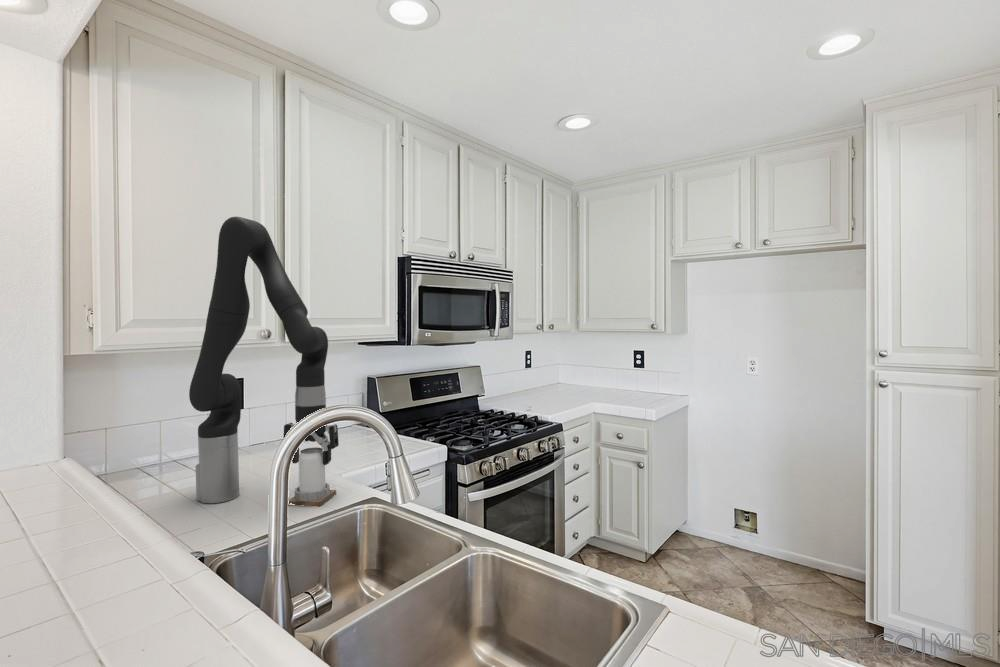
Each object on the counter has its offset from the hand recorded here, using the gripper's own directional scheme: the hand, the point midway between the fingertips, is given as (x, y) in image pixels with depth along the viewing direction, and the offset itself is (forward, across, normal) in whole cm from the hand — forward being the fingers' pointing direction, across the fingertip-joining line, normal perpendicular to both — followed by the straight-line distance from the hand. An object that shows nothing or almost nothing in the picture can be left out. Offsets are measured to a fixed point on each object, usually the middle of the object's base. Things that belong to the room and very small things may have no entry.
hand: (311, 463), depth 129 cm
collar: (+8, 0, 0) cm, 8 cm away
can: (+9, 0, 0) cm, 9 cm away
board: (+10, 0, 0) cm, 10 cm away
